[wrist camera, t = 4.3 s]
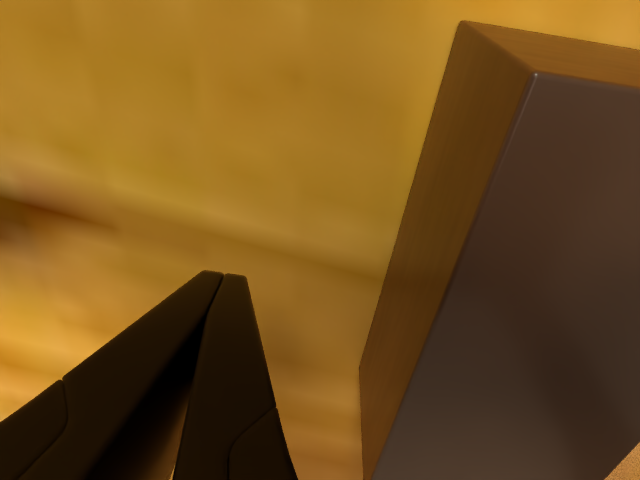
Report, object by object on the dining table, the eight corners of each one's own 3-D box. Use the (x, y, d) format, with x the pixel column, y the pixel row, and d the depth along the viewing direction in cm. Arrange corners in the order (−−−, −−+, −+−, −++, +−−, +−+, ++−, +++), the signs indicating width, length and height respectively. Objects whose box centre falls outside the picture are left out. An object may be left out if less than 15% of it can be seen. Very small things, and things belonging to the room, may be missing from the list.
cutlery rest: (513, 388, 14) (564, 524, 11) (358, 367, 14) (363, 500, 11) (709, 61, 9) (934, 136, 5) (459, 18, 9) (532, 70, 5)
